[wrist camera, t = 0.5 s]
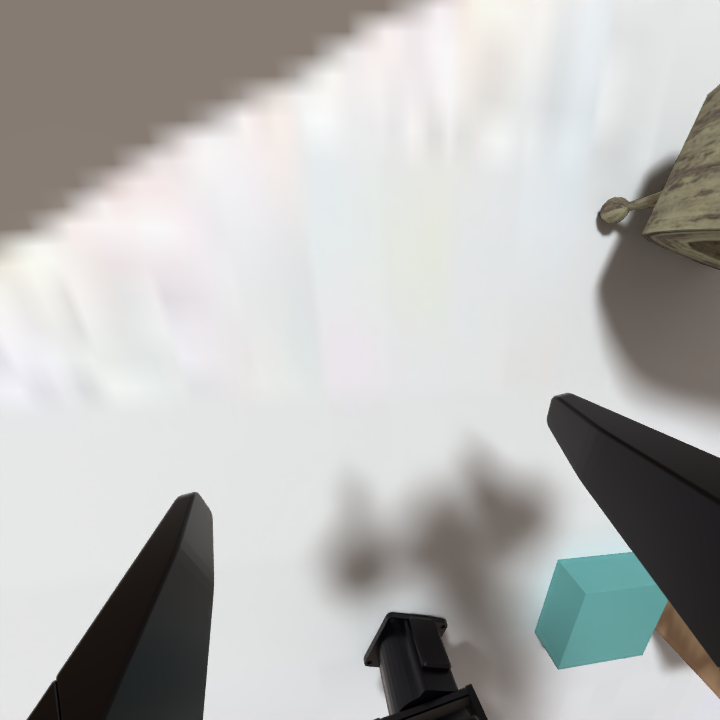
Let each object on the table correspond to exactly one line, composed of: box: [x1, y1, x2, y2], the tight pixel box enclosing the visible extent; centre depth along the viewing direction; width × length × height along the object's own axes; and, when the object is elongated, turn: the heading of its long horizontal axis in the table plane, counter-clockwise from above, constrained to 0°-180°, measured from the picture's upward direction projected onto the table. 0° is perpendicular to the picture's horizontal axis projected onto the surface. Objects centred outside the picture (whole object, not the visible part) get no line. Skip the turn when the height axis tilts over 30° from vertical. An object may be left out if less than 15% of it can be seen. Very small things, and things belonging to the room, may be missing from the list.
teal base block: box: [535, 552, 668, 670], centre depth 37 cm, size 10×10×4 cm
